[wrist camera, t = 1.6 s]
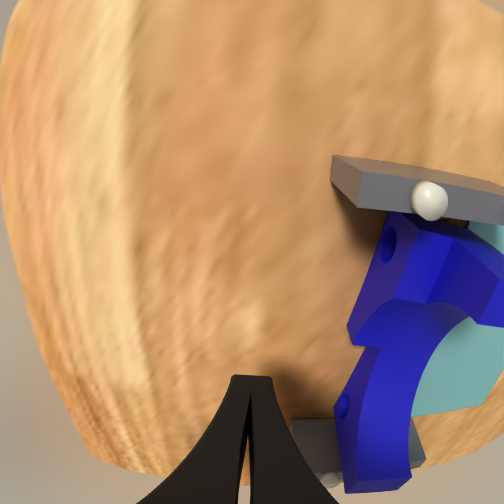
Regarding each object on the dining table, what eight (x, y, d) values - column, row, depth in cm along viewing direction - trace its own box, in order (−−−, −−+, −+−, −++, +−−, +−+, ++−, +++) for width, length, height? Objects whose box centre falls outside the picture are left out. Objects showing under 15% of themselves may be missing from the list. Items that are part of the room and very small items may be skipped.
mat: (562, 211, 11) (563, 211, 11) (481, 403, 17) (482, 404, 17) (474, 189, 12) (476, 189, 12) (394, 418, 18) (394, 419, 17)
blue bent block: (390, 204, 12) (463, 268, 7) (469, 229, 12) (550, 292, 7) (309, 404, 17) (315, 493, 11) (377, 409, 17) (397, 490, 12)
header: (491, 182, 11) (557, 211, 7) (404, 421, 18) (421, 474, 13) (332, 155, 12) (368, 174, 7) (289, 428, 18) (292, 489, 14)
